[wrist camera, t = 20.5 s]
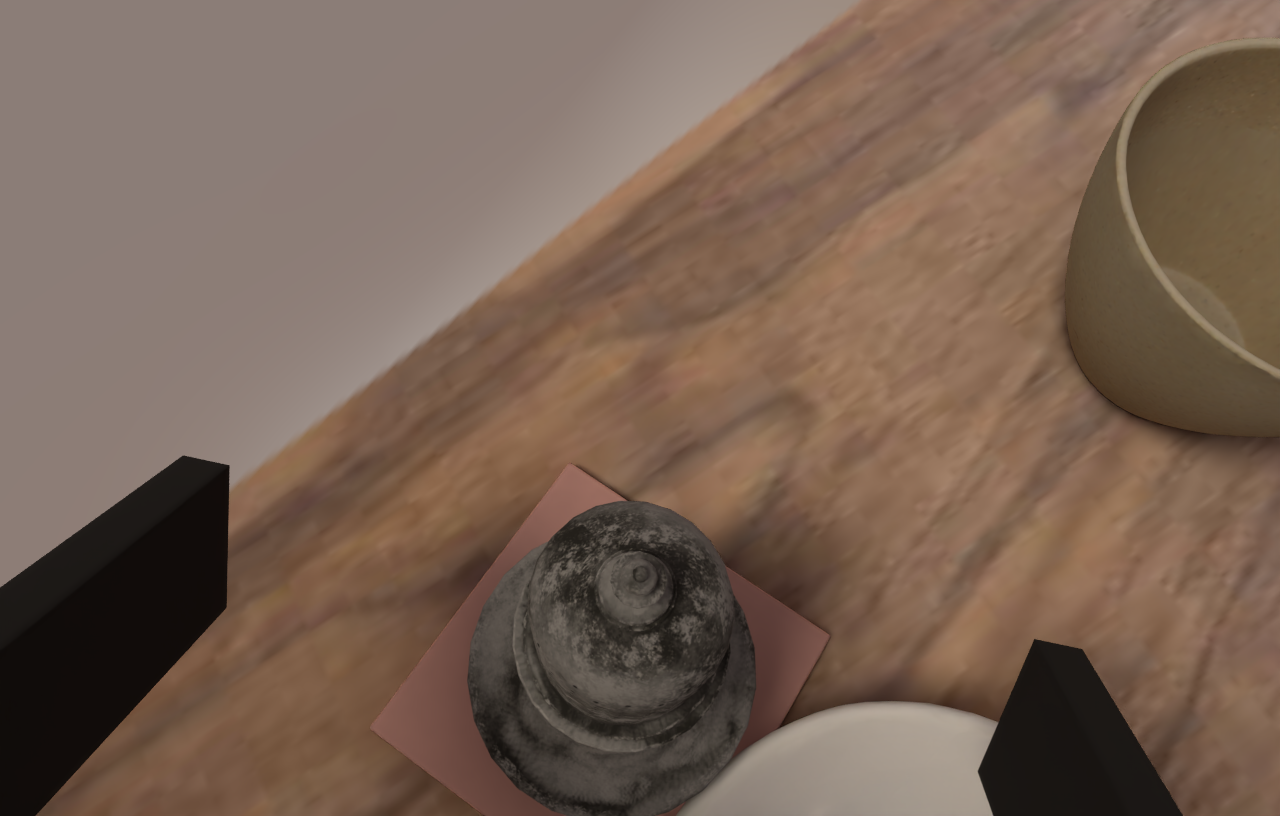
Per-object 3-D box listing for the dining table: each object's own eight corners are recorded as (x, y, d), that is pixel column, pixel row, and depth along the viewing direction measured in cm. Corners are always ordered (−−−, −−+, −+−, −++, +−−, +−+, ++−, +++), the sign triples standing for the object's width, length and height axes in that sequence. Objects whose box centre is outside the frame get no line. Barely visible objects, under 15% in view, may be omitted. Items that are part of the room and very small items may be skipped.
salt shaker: (578, 877, 20) (580, 987, 9) (436, 656, 21) (287, 515, 10) (779, 710, 21) (993, 627, 10) (633, 518, 23) (684, 269, 12)
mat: (372, 729, 21) (368, 728, 21) (569, 467, 24) (569, 461, 24) (653, 942, 20) (656, 946, 19) (826, 638, 23) (831, 635, 22)
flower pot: (926, 260, 27) (1036, 94, 21) (1187, 175, 29) (1364, -3, 23) (1105, 561, 24) (1304, 475, 17) (1387, 440, 26) (1660, 322, 19)
